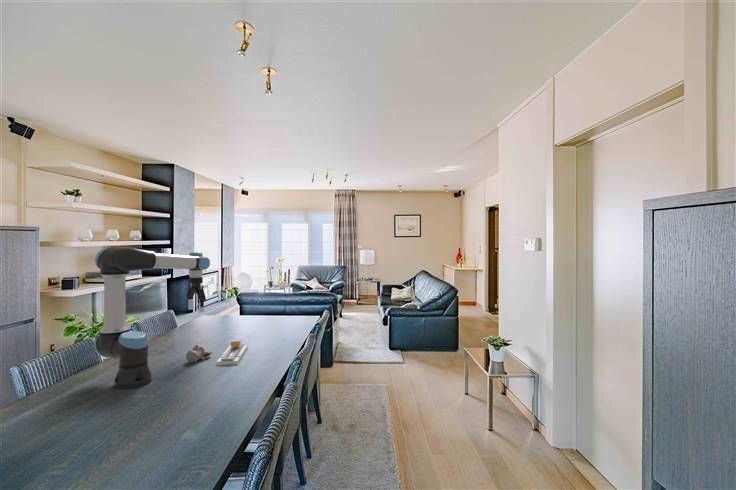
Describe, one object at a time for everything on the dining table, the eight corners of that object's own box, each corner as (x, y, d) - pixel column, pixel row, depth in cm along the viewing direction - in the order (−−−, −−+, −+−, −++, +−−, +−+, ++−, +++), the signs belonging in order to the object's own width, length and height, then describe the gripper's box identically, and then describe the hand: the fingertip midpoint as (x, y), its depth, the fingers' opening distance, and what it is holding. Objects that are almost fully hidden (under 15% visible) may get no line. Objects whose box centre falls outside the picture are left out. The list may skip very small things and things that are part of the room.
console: (237, 364, 194) (237, 358, 194) (216, 365, 193) (216, 359, 193) (247, 348, 224) (247, 343, 224) (229, 348, 222) (229, 343, 222)
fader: (239, 349, 214) (239, 341, 214) (230, 349, 214) (231, 341, 213) (240, 348, 217) (240, 340, 217) (232, 348, 216) (232, 340, 216)
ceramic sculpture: (180, 347, 195) (196, 341, 210) (179, 363, 195) (195, 356, 210) (198, 348, 194) (213, 342, 209) (197, 364, 194) (212, 357, 208)
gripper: (211, 277, 214) (211, 312, 214) (192, 275, 230) (192, 307, 230) (199, 278, 208) (199, 314, 209) (180, 275, 224) (180, 309, 224)
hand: (195, 310), depth 219 cm, fingers open, 13 cm apart
